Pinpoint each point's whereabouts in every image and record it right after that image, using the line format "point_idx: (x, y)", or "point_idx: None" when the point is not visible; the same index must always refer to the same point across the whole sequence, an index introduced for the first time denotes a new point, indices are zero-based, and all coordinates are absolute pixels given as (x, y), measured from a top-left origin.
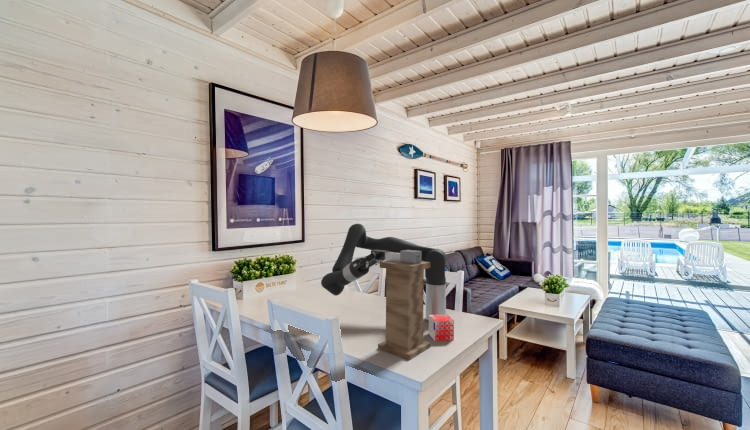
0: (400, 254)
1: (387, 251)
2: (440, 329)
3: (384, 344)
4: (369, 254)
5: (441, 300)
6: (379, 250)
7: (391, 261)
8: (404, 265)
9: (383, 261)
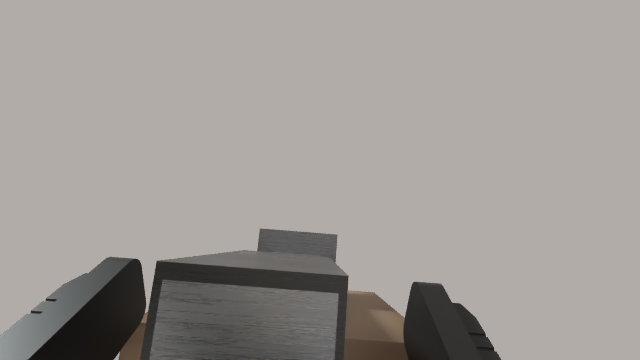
0: (335, 255)
1: (282, 253)
2: None
3: None
4: (469, 333)
5: None
6: (256, 258)
7: None
8: (380, 298)
9: (383, 340)
